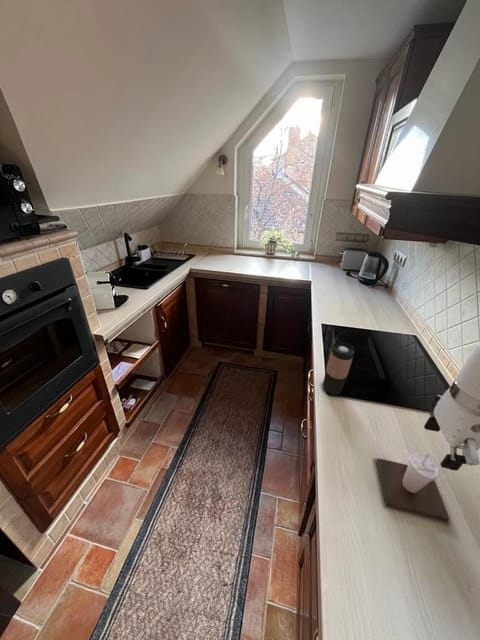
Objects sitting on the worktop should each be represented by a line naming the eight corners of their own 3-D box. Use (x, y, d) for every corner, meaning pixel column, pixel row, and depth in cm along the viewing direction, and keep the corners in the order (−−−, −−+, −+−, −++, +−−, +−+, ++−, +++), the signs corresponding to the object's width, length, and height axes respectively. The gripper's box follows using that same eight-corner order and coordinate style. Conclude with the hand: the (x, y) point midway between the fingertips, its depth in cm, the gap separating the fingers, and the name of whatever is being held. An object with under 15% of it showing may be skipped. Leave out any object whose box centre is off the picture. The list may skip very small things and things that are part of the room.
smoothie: (398, 468, 72) (417, 438, 65) (424, 482, 69) (447, 452, 62) (395, 488, 68) (414, 457, 60) (423, 504, 64) (447, 474, 57)
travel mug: (317, 384, 102) (328, 344, 91) (332, 379, 104) (344, 339, 94) (330, 398, 96) (343, 356, 85) (346, 392, 98) (360, 351, 88)
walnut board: (428, 473, 73) (430, 470, 72) (446, 521, 63) (449, 518, 62) (375, 460, 75) (377, 457, 75) (385, 505, 65) (387, 502, 65)
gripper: (527, 438, 43) (477, 490, 51) (473, 370, 57) (441, 420, 66) (475, 428, 44) (436, 480, 53) (435, 364, 59) (409, 414, 67)
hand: (439, 447), depth 59 cm, fingers open, 9 cm apart
